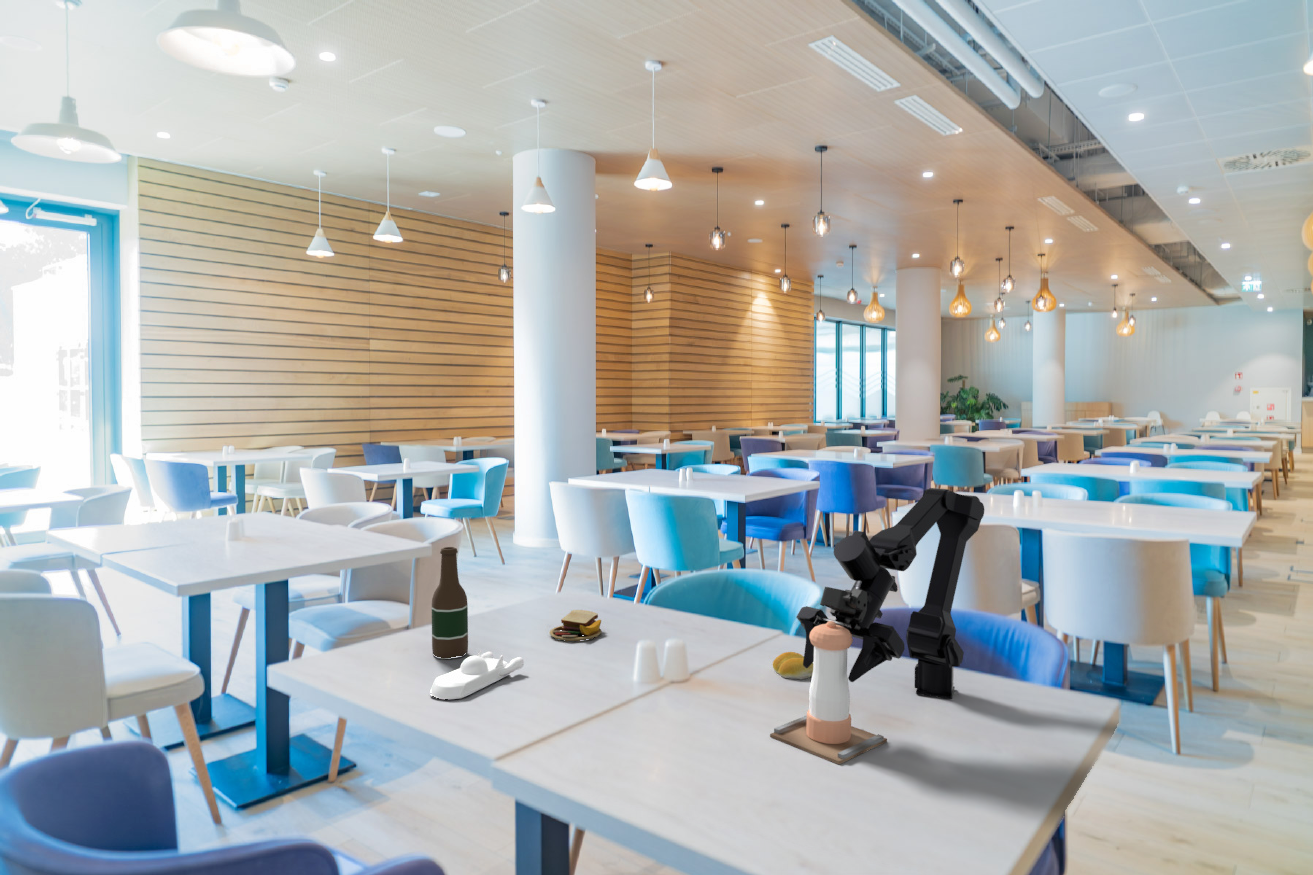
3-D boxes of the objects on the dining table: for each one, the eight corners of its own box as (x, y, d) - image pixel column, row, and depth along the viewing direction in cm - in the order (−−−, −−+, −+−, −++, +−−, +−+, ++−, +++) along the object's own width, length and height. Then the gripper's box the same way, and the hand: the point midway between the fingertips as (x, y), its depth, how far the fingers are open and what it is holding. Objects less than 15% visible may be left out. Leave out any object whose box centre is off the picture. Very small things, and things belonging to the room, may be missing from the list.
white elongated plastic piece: (416, 696, 157) (415, 666, 157) (485, 667, 174) (485, 640, 174) (457, 706, 152) (456, 675, 152) (524, 674, 169) (524, 647, 169)
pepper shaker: (852, 729, 138) (855, 617, 137) (848, 746, 131) (852, 629, 130) (809, 723, 140) (811, 613, 139) (803, 740, 134) (806, 625, 132)
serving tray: (818, 717, 145) (818, 710, 145) (887, 741, 134) (887, 734, 134) (770, 736, 137) (770, 729, 137) (838, 764, 126) (838, 756, 126)
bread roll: (786, 682, 164) (786, 662, 164) (767, 668, 172) (767, 650, 172) (823, 678, 166) (823, 659, 166) (803, 665, 175) (803, 646, 175)
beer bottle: (475, 652, 183) (474, 546, 182) (449, 662, 177) (448, 552, 176) (450, 647, 188) (449, 543, 187) (424, 656, 181) (423, 548, 180)
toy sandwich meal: (538, 638, 195) (538, 619, 195) (572, 625, 207) (572, 607, 207) (581, 646, 189) (580, 626, 189) (613, 632, 200) (613, 613, 200)
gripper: (803, 560, 145) (761, 634, 138) (895, 577, 131) (853, 659, 124) (830, 597, 150) (791, 669, 143) (921, 617, 136) (883, 698, 129)
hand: (826, 673), depth 135 cm, fingers open, 9 cm apart
